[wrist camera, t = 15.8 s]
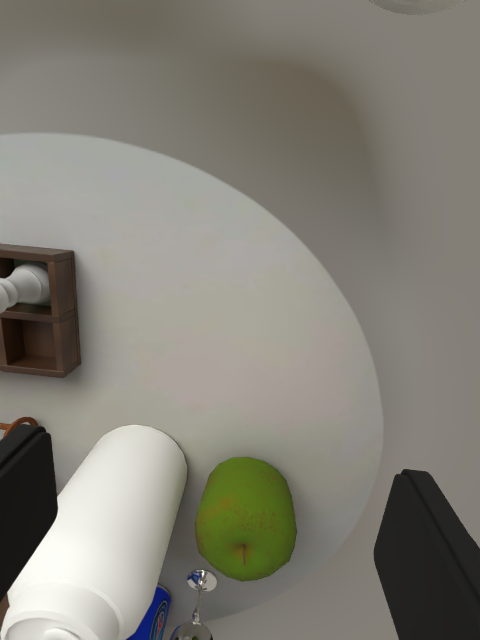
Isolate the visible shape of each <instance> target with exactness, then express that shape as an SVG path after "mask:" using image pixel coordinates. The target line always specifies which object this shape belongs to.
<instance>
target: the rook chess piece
mask: <svg viewBox="0 0 480 640" xmlns="http://www.w3.org/2000/svg"><path fill="white" fill-rule="evenodd" d="M49 300H51V299H50V288H49V276H48V267H47V266H46V265H44V264H42V263H39V262H28V263H26V264H22V265H20V266H19V267H17V268H15V270H14V271H13V273H12V274H11V275H10V276H9V277H7V278H5V279H3V278H0V313H2V312H4V311H5V310H6V308H7V307H11V306H13V305H15V303H17V302H26V303H30V304H41V303H43V302H47V301H49Z"/></svg>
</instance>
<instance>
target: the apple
mask: <svg viewBox="0 0 480 640" xmlns="http://www.w3.org/2000/svg"><path fill="white" fill-rule="evenodd" d="M195 534H196V542H197V546H198V550H199V553H200V554H201V555H202V556H203V557H204V558H205V559H206V560H207V561H208V562H209V563H210V564H211V565H212V566H213V567H214V568H216V569H217V570H218V571H220V572H221V573H223V574H224V575H226V576H227V577H230V578H233V579H236V580H239V581H251V580H258V579H261V578H264V577H267V576H270V575H271V574H273V573H274V572H275V571H277V570H278V569H279V568H281V567H282V566H283V565H285V564H286V563H287V562H289V560H290V558H291V555H292V552H293V549H294V546H295V540H296V534H297V529H296V521H295V514H294V508H293V501H292V496H291V493H290V490H289V487H288V484H287V481H286V480H285V478H284V477H283V476H282V475H281V474H280V473H279V472H278V470H277V469H275V468H274V467H272V466H271V465H269V464H268V463H266V462H264V461H261V460H257V459H253V458H250V457H243V458H231V459H229V460H227V461H225V462H223V463H220V464H219V465H218V466H217V467H216V468H215V469H214V470H213V471H212V473H211V474H210V475H209V478H208V481H207V484H206V487H205V490H204V493H203V496H202V499H201V502H200V505H199V508H198V512H197V517H196V522H195Z"/></svg>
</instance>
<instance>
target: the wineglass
mask: <svg viewBox="0 0 480 640" xmlns="http://www.w3.org/2000/svg"><path fill="white" fill-rule="evenodd" d="M187 582H188V585H189V586H190V587H191V588H192V589H194V590H196V591H198V599H197V604H196V607H195V610H194V612H193V616H192V619H193V621H187V622H184V623H182V624H180V625H179V626H178V627H177V628H176V629H175V631H174V632H173V634H172V636H171V638H170V640H213V638H212V635H211V633H210V631H209V629H208V628H207V627H206V626H205V625H203V624H202V623H200V622H198V621H199V619H200V601H201V595H202V592H209V591H212V590H213V589H214V588H215V587H216V585H217V579H216V577H215V576H214V575H213V574H212V573H210V572H208V571H205V570H195V571H193V572H191V573H190V574H189V575H188V577H187Z"/></svg>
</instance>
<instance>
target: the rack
mask: <svg viewBox="0 0 480 640" xmlns="http://www.w3.org/2000/svg"><path fill="white" fill-rule="evenodd" d="M28 262H39V263H42V264H44V265H46V266H47V267H48V276H49V288H50V299H51V300H49V301H47V302H43V303H41V304H30V303H26V302H17V303H15V305H13V306H11V307H7V308H6V310H5V311H4V312H2V313H0V371H4V372H13V373H22V374H31V375H40V376H50V377H59V378H65V377H66V376H67V375H68V374H70V373H71V372H72V371H73V370H74V369H76V368H77V367H78V366H79V365H80V364H81V359H80V344H79V328H78V313H77V297H76V281H75V266H74V251H71V250H61V249H50V248H40V247H30V246H19V245H9V244H0V278H3V279H5V278H7V277H9V276H10V275H11V274H12V273H13V271H14V270H15V268H17V267H19V266H20V265H22V264H26V263H28Z"/></svg>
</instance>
